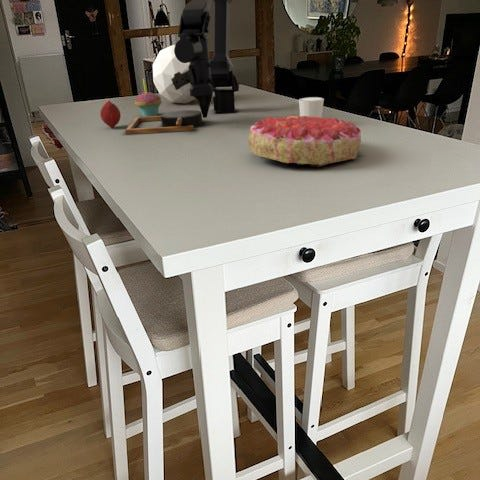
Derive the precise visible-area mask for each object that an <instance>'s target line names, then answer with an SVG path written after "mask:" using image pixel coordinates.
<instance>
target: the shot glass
mask: <svg viewBox="0 0 480 480" xmlns="http://www.w3.org/2000/svg"><path fill="white" fill-rule="evenodd" d="M324 101H325V98H323V97H319V96H307V97H302V98H299V99H298V108H299V117H301V116H308V117H321V118H323V111H324V110H323V109H324Z"/></svg>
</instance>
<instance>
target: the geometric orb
mask: <svg viewBox="0 0 480 480" xmlns="http://www.w3.org/2000/svg"><path fill="white" fill-rule="evenodd" d="M175 45H176V44H171V45H170V46H168V47H165V48H163V49H161V50H160V51H159V52H158V54H157V56H156V57H155V60H154V61H153V63H152V80H153V84H154V86H155V88H156V90H157V92H158V95H160V96H161V97H163V98H165V99H166V100H168V101H169V102H171V103H172V104H186V105H187V104H189V103H191V102H192V101H195V100H197V99H196V98H195V97H193V96H190V87H191V86H192V85H190V83H188V84H186V85H184V86H182V87H181V88H180V89H178V90H176V89H175V87H174V85H173V82H172V80H171V79H172V78H173V77H174V74H176V73H178V72H180V73H183V72H185V71H187V70H189V65H190V62H188V63H182V62H180V61H179V60H178V59H177V58H176V56H175V53H174V48H175Z"/></svg>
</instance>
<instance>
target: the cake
mask: <svg viewBox="0 0 480 480" xmlns="http://www.w3.org/2000/svg"><path fill="white" fill-rule="evenodd" d="M361 133H362V132H361V129H360V128H359V127H358V126H356V124H354V123H352V122H349V121H346V120H344V119H341V120H339V119H338V118H337V117H322V118H321V117H308V116H301V117H300V115H299V116H298V115H287V116H285V117H284V116H276V117H274V118H273V116H272V117H271V116H267V117H266V118H264V119H261V120H259V121H256V122H255V123H254V124H251V125H250V129H249V134H248V143H247V144H248V146H247V147H248V149H249V150H250V151H251V152H252V154H253V155H255V156H258V157H261V158H265V159H269V160H274V161H278V162H280V163H284V164H285V165H288V164H292V163H294V164H296V165H297V166H298V167H300V166H302V165H309V167H312V168H320V167H323V166H326V165H328V164H335V163H339V162H344V161H348V160H356V158H358V155H359V151H360V147H361V143H362V138H361V137H362V135H361Z"/></svg>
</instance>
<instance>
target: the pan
mask: <svg viewBox="0 0 480 480" xmlns="http://www.w3.org/2000/svg"><path fill="white" fill-rule="evenodd" d="M160 116H161V120H160V121H161V127H173V126H177V127H180V126H191V125H193V128H195V127H199V126H201V125H203V115H202V112H201V110H200V111H199V110H191V109H189V110H187V109H184V110H174V111H169V112H165V113H162V114H160Z"/></svg>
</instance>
